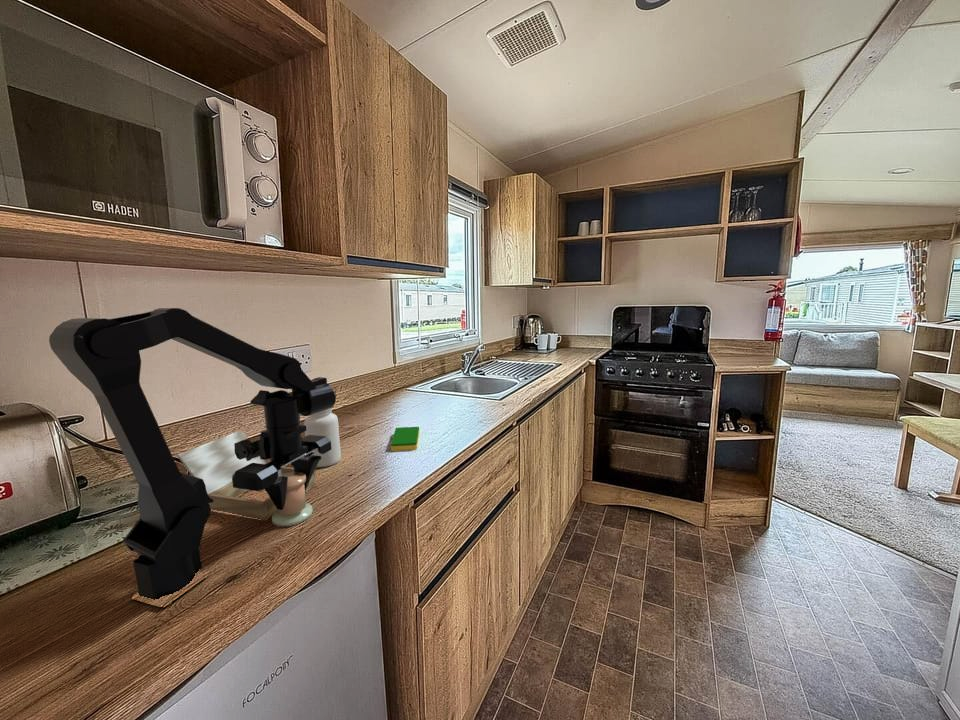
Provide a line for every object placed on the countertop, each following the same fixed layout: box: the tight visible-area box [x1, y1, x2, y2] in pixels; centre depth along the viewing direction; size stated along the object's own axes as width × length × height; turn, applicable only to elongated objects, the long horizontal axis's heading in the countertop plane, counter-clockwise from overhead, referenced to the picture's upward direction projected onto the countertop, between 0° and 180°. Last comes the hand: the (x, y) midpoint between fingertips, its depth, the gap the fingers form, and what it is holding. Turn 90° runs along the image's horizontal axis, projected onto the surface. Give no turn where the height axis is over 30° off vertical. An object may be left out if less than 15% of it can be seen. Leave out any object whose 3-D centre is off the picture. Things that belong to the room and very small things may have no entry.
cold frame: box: [176, 429, 317, 521], centre depth 80 cm, size 14×20×11 cm
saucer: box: [271, 502, 314, 527], centre depth 73 cm, size 7×7×1 cm
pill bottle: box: [303, 407, 342, 468], centre depth 97 cm, size 8×8×15 cm
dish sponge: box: [390, 426, 420, 452], centre depth 111 cm, size 7×14×2 cm, turn 6°
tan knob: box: [277, 472, 307, 515], centre depth 73 cm, size 6×6×6 cm
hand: (291, 501), depth 73 cm, fingers closed on tan knob, 5 cm apart
